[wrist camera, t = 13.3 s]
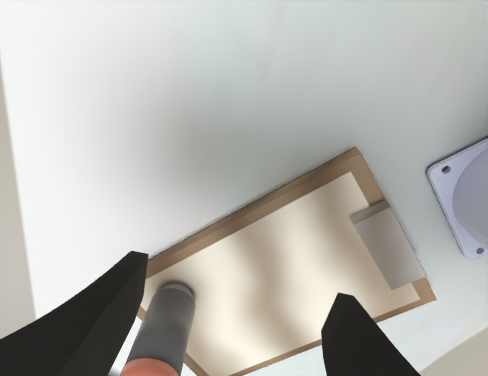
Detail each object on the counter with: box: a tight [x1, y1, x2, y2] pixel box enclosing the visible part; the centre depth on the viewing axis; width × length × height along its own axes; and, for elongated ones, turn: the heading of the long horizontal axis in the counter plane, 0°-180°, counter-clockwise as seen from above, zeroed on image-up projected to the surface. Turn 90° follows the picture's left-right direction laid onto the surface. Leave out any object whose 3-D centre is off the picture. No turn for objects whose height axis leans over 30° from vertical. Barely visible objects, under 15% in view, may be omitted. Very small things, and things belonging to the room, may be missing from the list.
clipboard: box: [137, 147, 436, 376], centre depth 24 cm, size 20×13×2 cm, turn 123°
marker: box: [120, 282, 196, 376], centre depth 21 cm, size 3×3×8 cm
